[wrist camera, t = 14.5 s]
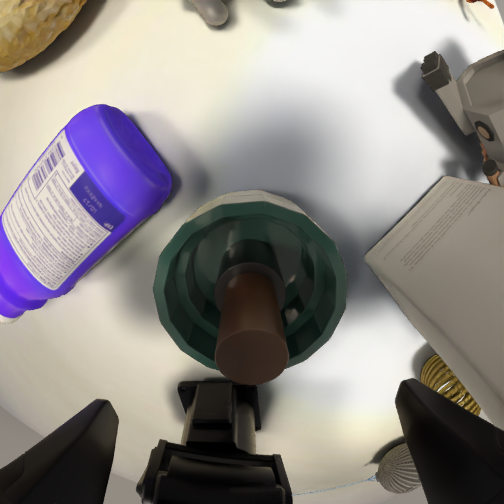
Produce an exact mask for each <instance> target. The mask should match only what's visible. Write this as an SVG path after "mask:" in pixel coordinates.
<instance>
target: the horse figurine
mask: <svg viewBox="0 0 504 504" xmlns="http://www.w3.org/2000/svg"><path fill="white" fill-rule="evenodd" d="M190 1H191V2H192V3H193V4H194V5H195V7H196V8H197V9H198V10H199V12H200V13H201V15H202V16H203V18H204V19H205V21H206V22H207V23H208V24H210V25H214V26H218V25H221V24H223V23H224V22H225V21H226V20H227V18H228V9H227V7H226V5H225V4H224V3H223V2H222V1H221V0H190ZM273 1H276V2H281V1H285V0H273Z"/></svg>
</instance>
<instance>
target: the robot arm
mask: <svg viewBox="0 0 504 504" xmlns="http://www.w3.org/2000/svg"><path fill="white" fill-rule="evenodd" d="M249 386H252V387H249ZM183 388H185V389H183ZM177 390H178V393H179V396H180V399H181V402H182V405H183V408H184V411H185V413H186V419H185V424H184V430H183V435H182V440H181V445H180V444H175V443H170V442H167V441H166V440H162V439H160V440H159V443H158V446H157V447H155V448H154V449H152V451H151V455H150V459H149V462H148V465H147V468H146V470H145V471H144V473H143V475H142V477H141V478H140V480H139V482H138V484H137V487H136V491H137V493H138V494H139V495H140V497H141V498H142V504H293V499H292V492H291V488H290V485H289V481H288V478H287V475H286V472H285V468H284V465H283V462H282V458H281V455H280V454H273V455H259V454H256V442H255V431H257V430H260V429H261V422H260V412H259V402H258V391H257V385H245V384H240V383H236V382H204V383H179V385H178V388H177ZM395 405H396V408H397V412H398V415H399V419H400V423H401V426H402V430H403V434H404V438H405V441H406V444H407V447H408V450H409V452H410V455H411V457H412V460H413V463H414V465H415V468H416V471H417V473H418V476H419V479H420V481H421V484H422V487H423V490H424V492H425V495H426V498H427V501H428V504H504V431H503V430H502V429H500V428H498V427H496V426H494V425H493V424H491V423H489V422H487V421H486V420H484V419H482V418H480V417H479V416H477V415H475V414H474V413H472V412H470V411H468V410H467V409H465V408H463V407H462V406H460V405H458V404H456V403H455V402H453V401H451V400H450V399H448V398H446V397H445V396H443V395H441V394H440V393H438V392H436V391H435V390H433V389H431V388H430V387H428V386H426V385H425V384H423V383H421V382H420V381H418V380H416V379H414V378H411V379H407V380H403V381H402V382H401V383H400V386H399V389H398V392H397V395H396V398H395ZM118 424H119V419H118V416H117V414H116V412H115V410H114V408H113V406H112V405H111V403H110V401H108V400H105V399H96V400H94V401H93V402H92V403H90V404H89V405H88V406H87V407H85V408H84V409H83V410H81V411H80V412H79V413H77V414H76V415H75V416H73V417H72V418H71V419H69V420H68V421H67V422H65V423H64V424H63V425H61V426H60V427H59V428H57V429H56V430H55V431H53V432H52V433H51V434H49V435H48V436H47V437H45V438H44V439H43V440H41V441H40V442H39V443H37V444H36V445H35V446H33V447H32V448H31V449H29V450H28V451H26V452H25V454H22V455H21V456H20V457H18V458H17V459H15V460H14V461H12V462H11V463H9V464H8V465H7V466H5V467H3V468H2V469H0V504H103V502H104V497H105V493H106V488H107V484H108V480H109V475H110V471H111V467H112V463H113V458H114V451H115V444H116V437H117V430H118Z"/></svg>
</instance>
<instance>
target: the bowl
mask: <svg viewBox="0 0 504 504" xmlns="http://www.w3.org/2000/svg"><path fill="white" fill-rule="evenodd" d="M242 240H257V241H260V242H263V243H265V244H266V245H268V246H269V247H270V248H271V249H272V250H273V251H274V253H275V255H276V257H277V260H278V263H279V267H280V270H281V274H282V277H283V281H284V284H285V288H286V299H285V303H284V306H283V308H282V309H281V311H280V313H281V318H282V323H283V328H284V333H285V337H286V342H287V347H288V352H289V360H288V363H287V366H286V368H289V367H291V366H294V365H296V364H299V363H301V362H303V361H305V360H307V359H308V358H309V357H310V356H311V355H312V354H314V353H315V352H316V351H317V350H318V349H319V348H320V347H322V346H323V345H324V344H325V343H326V342H327V341H328V340H329V339H330V338H331V336H332V334H333V332H334V331H335V329H336V327H337V325H338V323H339V321H340V319H341V317H342V315H343V313H344V311H345V309H346V297H347V281H348V275H347V272H346V269H345V267H344V264H343V261H342V259H341V256H340V254H339V251H338V249H337V247H336V244H335V242H334V241H333V239H332V238H331V237H330V236H329V235H328V234H327V233H326V232H325V231H324V230H323V229H322V228H321V227H320V226H319V225H318V224H317V223H316V222H314V221H313V220H312V219H311V218H310V217H309V216H308V215H307V214H306V213H305V212H304V211H303V210H301V209H300V208H299V207H298V206H297V205H296V204H295V203H294V202H293V201H291V200H289V199H286V198H283V197H281V196H278V195H275V194H272V193H269V192H266V191H263V190H249V191H237V192H228V193H225V194H223V195H221V196H219V197H217V198H215V199H213V200H212V201H210V202H208V203H206V204H204V205H202V206H200V207H199V208H198V209H197V210H196V211H195V212H194V213H193V214H192V215H191V216H190V217H189V219H188V220H187V221H186V222H185V223H184V224H183V225H182V226H181V228H180V229H179V230H178V232H177V233H176V234H175V235H174V237H173V238H172V239H171V241H170V242H169V243H168V245H167V246H166V247H165V249H164V250H163V251H162V253H161V255H160V257H159V261H158V266H157V271H156V276H155V280H154V285H153V293H154V298H155V302H156V306H157V310H158V314H159V319H160V322H161V324H162V325H163V327H164V328H165V330H166V331H167V332H168V334H169V335H170V336H171V338H172V339H173V341H174V342H175V343H176V345H177V346H178V347H179V348H180V350H181V351H183V352H184V353H186V354H187V355H189V356H191V357H192V358H194V359H195V360H197V361H198V362H200V363H201V364H203V365H205V366H206V367H209V368H212V369H216V370H219V369H218V367H217V365H216V362H215V351H216V344H217V337H218V330H219V324H220V317H221V312H220V311H219V309H218V308H217V306H216V303H215V299H214V289H215V285H216V281H217V276H218V272H219V268H220V263H221V259H222V257H223V254H224V253H225V251H226V250H227V249H228V248H229V247H230V246H231V245H233V244H234V243H236V242H239V241H242ZM286 368H285V369H286Z"/></svg>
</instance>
